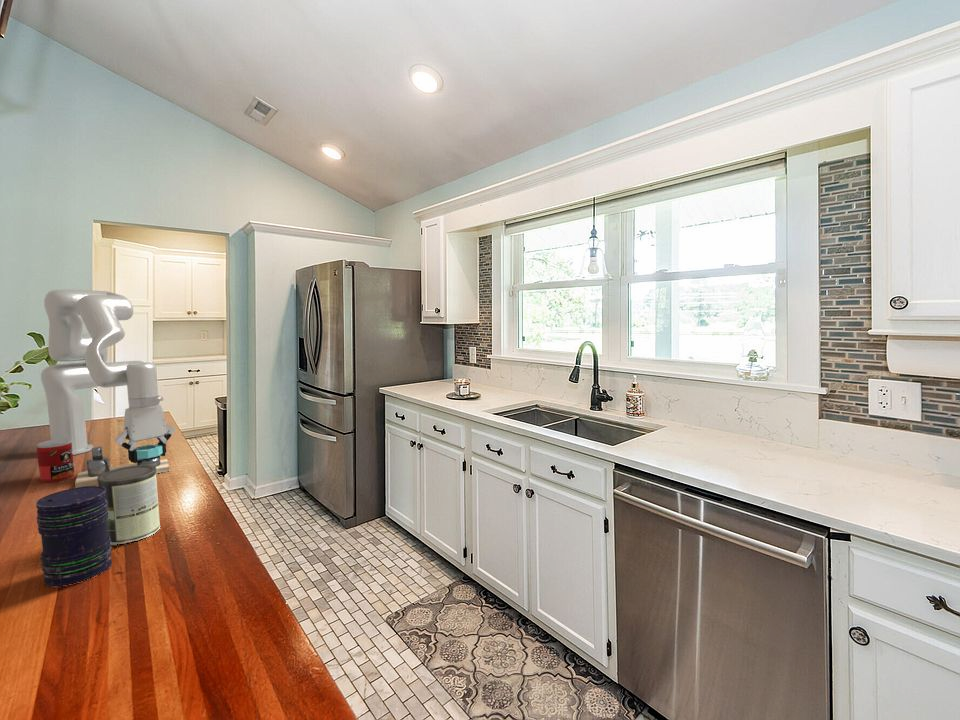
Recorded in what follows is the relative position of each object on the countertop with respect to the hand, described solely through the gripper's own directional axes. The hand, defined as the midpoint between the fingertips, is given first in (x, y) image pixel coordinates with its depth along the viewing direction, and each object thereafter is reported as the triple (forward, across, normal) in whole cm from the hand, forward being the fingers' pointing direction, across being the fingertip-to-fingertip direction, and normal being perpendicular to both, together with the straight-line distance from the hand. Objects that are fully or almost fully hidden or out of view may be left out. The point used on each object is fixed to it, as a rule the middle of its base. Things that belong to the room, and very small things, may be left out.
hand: (148, 458), depth 144 cm
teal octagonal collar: (-1, 0, 0) cm, 1 cm away
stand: (+2, +11, -5) cm, 12 cm away
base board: (+4, +6, -2) cm, 7 cm away
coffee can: (+4, +22, +45) cm, 50 cm away
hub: (+2, 0, 0) cm, 2 cm away
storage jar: (+4, +35, +54) cm, 64 cm away
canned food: (+4, +17, -16) cm, 24 cm away
